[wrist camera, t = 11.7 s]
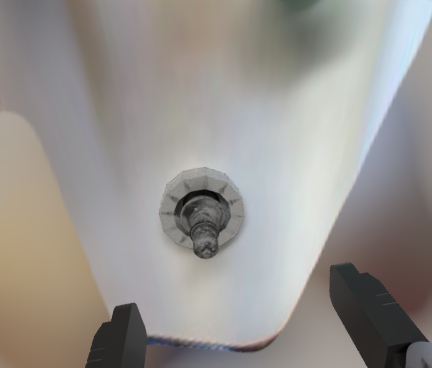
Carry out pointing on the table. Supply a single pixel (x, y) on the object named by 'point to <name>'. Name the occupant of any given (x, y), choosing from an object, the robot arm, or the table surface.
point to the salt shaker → (203, 221)
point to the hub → (194, 182)
